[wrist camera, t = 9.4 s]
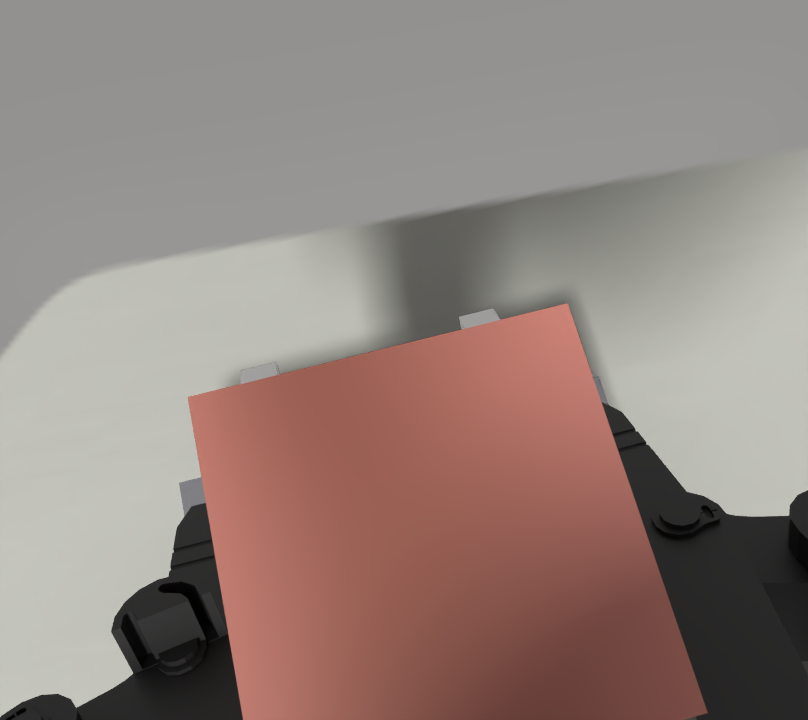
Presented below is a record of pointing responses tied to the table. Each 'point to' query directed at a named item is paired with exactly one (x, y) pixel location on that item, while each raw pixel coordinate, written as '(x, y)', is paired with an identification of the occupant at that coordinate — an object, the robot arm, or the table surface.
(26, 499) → the table surface
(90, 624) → the table surface
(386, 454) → the plug peg
